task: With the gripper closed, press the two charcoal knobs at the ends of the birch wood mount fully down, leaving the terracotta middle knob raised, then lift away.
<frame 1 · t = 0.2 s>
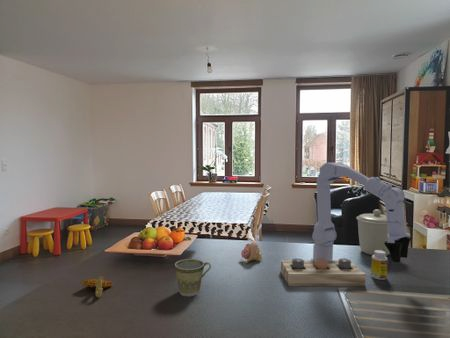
hand: (400, 259, 117), 11 cm above the kitchen counter, tool pointing down, fingers open, 7 cm apart
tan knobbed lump: (250, 261, 144), on the kitchen counter
mount: (320, 278, 126), on the kitchen counter
knob 2: (344, 265, 126), point 5 cm above the kitchen counter, slide at 0.0 cm
canister: (375, 253, 157), on the kitchen counter
ornament: (97, 292, 113), on the kitchen counter
knob 1: (297, 264, 125), point 5 cm above the kitchen counter, slide at 0.0 cm
ceramic cup: (193, 291, 113), on the kitchen counter
knob middle: (321, 265, 125), point 5 cm above the kitchen counter, slide at 0.0 cm
supplement bottle: (378, 277, 127), on the kitchen counter
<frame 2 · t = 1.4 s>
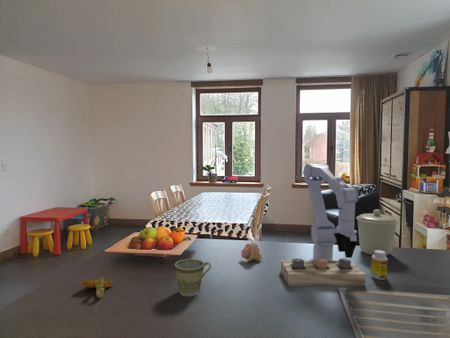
hand: (345, 254, 125), 9 cm above the kitchen counter, tool pointing down, fingers open, 6 cm apart
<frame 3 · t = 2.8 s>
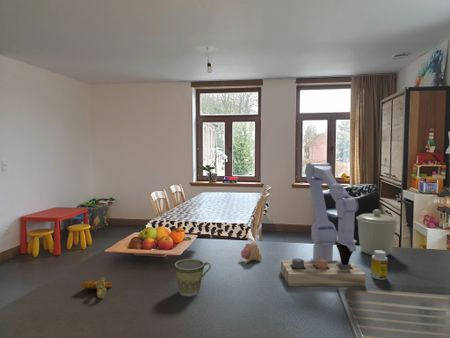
hand: (344, 264, 126), 6 cm above the kitchen counter, tool pointing down, fingers closed, pressing on knob 2
knob 2: (344, 268, 126), point 4 cm above the kitchen counter, slide at 1.3 cm, touching gripper
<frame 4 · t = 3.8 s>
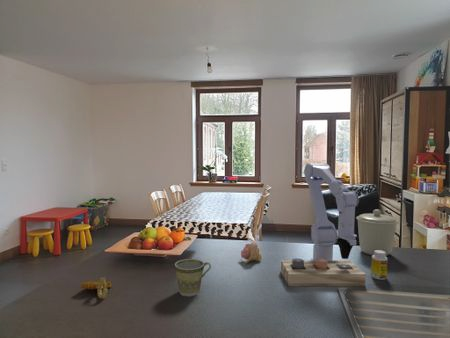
hand: (344, 258, 126), 8 cm above the kitchen counter, tool pointing down, fingers closed
knob 2: (344, 270, 126), point 3 cm above the kitchen counter, slide at 2.2 cm
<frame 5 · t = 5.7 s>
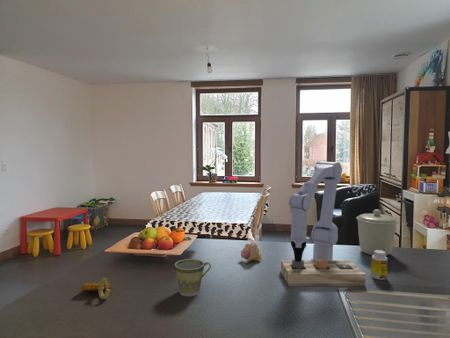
hand: (298, 260, 125), 7 cm above the kitchen counter, tool pointing down, fingers closed, pressing on knob 1
knob 1: (297, 265, 125), point 5 cm above the kitchen counter, slide at 0.1 cm, touching gripper
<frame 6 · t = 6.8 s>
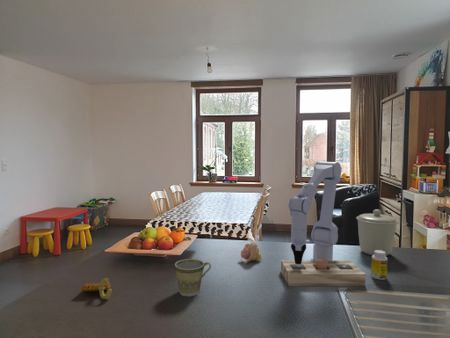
hand: (298, 263, 125), 6 cm above the kitchen counter, tool pointing down, fingers closed
knob 1: (297, 270, 125), point 3 cm above the kitchen counter, slide at 2.2 cm
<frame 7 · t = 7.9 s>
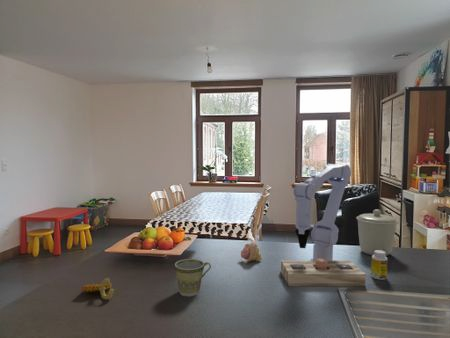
hand: (302, 247, 130), 10 cm above the kitchen counter, tool pointing down, fingers closed
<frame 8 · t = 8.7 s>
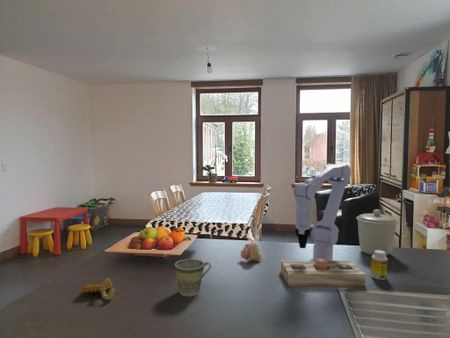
hand: (302, 247, 130), 10 cm above the kitchen counter, tool pointing down, fingers closed
at the end: knob 2 slide at 2.2 cm; knob 1 slide at 2.2 cm; knob middle slide at 0.0 cm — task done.
